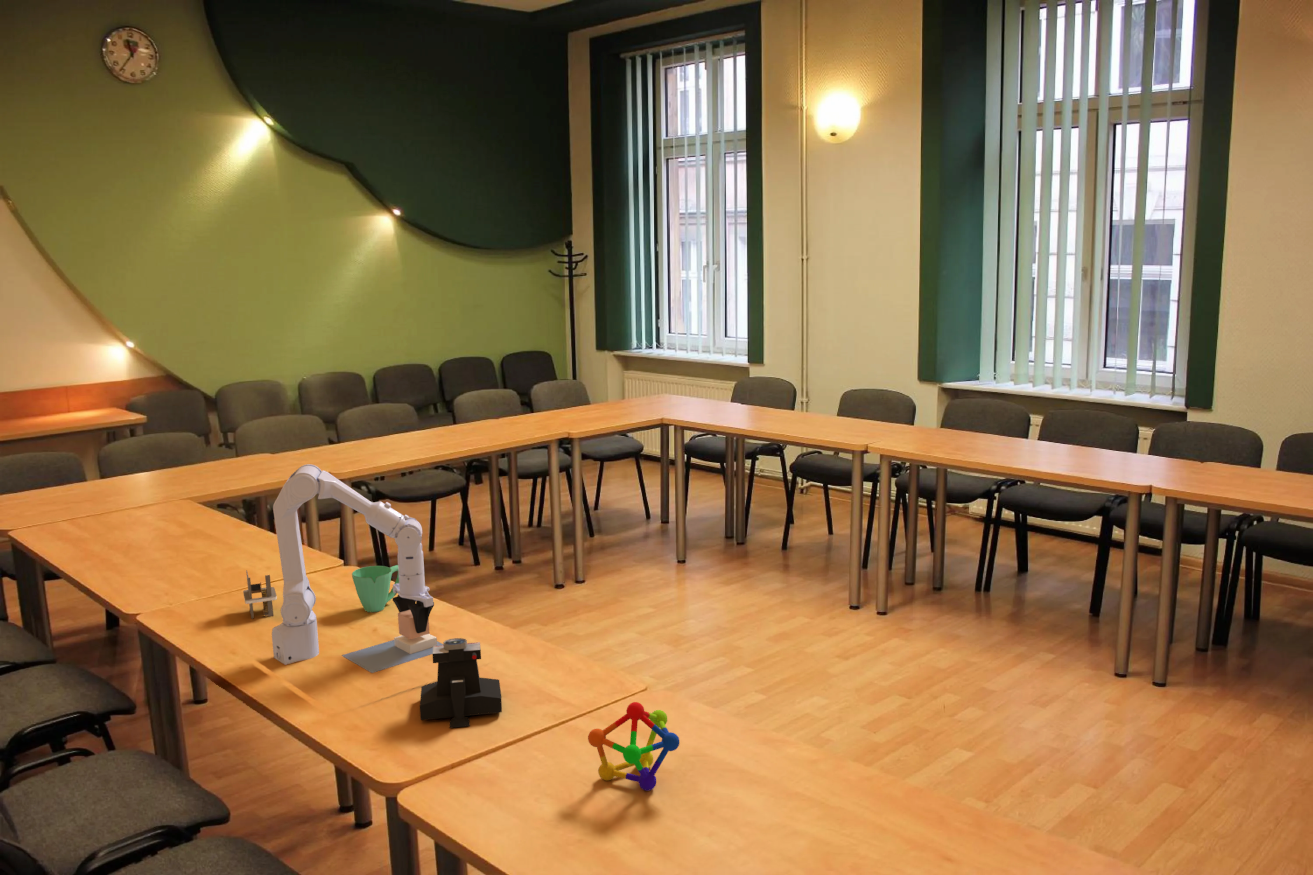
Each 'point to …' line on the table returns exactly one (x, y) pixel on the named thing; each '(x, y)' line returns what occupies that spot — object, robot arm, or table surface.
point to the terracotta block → (409, 625)
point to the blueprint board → (393, 652)
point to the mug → (374, 586)
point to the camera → (459, 685)
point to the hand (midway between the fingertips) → (414, 628)
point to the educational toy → (632, 752)
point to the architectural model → (266, 598)
